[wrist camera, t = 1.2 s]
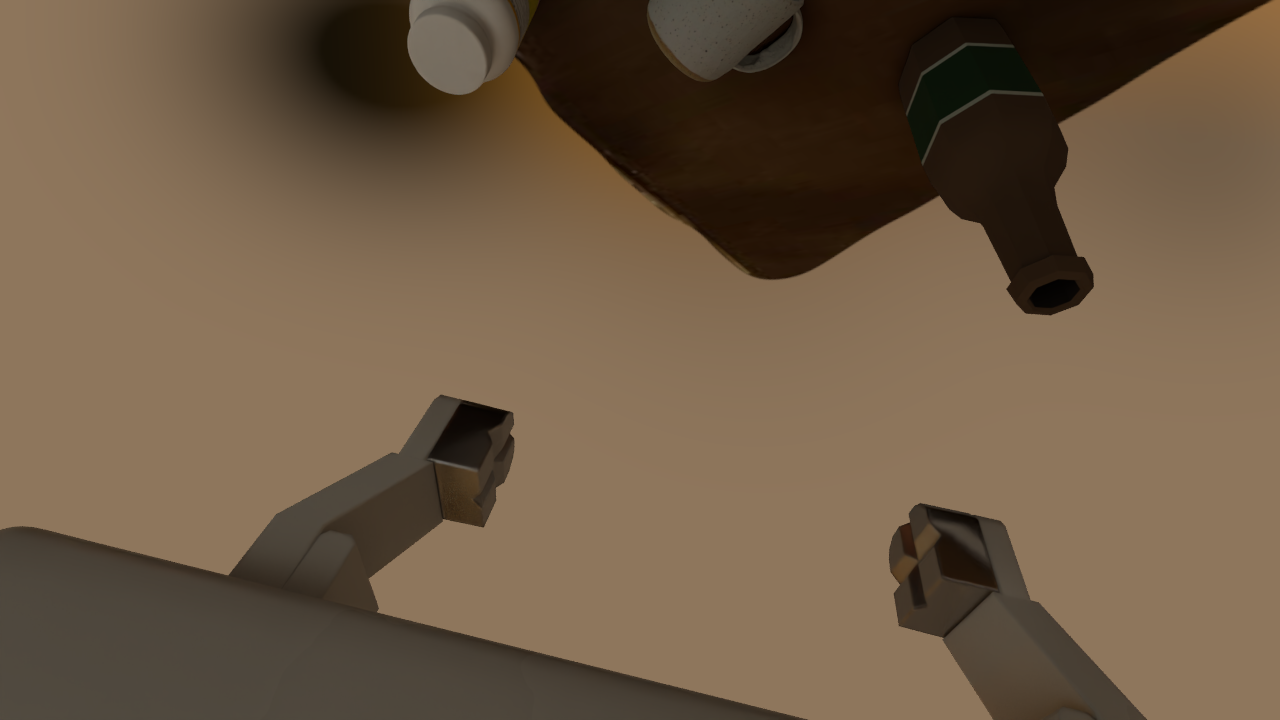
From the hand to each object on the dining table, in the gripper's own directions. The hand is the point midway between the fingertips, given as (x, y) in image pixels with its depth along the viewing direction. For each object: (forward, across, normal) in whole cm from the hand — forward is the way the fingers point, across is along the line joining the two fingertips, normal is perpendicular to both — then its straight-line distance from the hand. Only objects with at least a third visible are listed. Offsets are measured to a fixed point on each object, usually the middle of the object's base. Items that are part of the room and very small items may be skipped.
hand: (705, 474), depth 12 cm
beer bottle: (+44, -14, 0) cm, 46 cm away
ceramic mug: (+42, +2, -2) cm, 42 cm away
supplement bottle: (+40, +19, -1) cm, 45 cm away
